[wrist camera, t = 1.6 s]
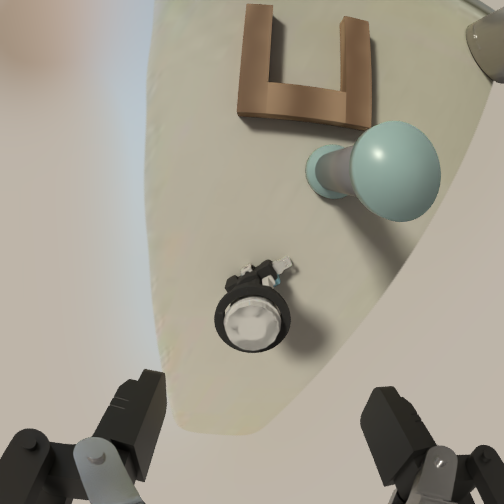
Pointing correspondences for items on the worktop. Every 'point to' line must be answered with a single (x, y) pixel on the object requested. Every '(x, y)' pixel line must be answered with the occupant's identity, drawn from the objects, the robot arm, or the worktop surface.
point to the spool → (380, 171)
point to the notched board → (305, 97)
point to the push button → (254, 309)
